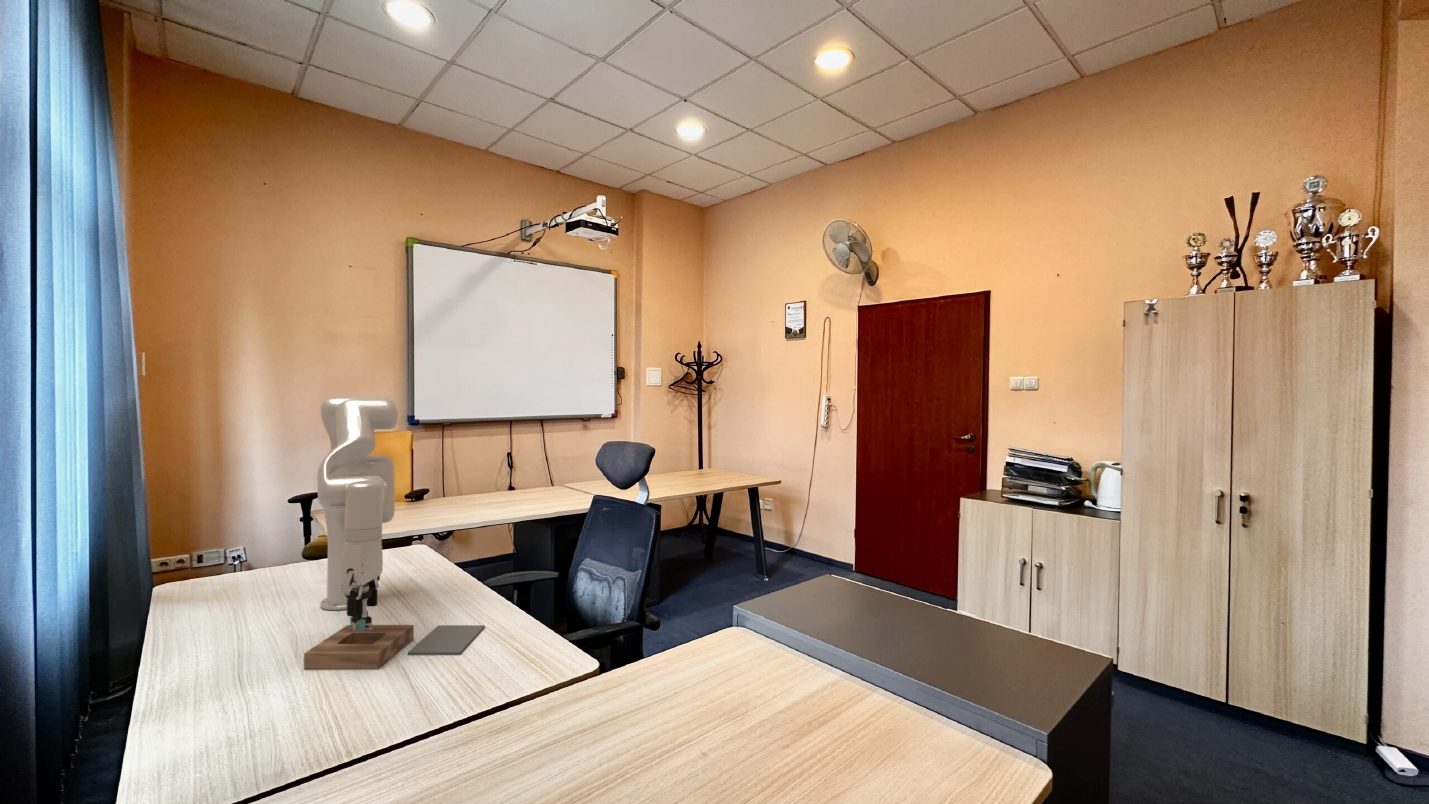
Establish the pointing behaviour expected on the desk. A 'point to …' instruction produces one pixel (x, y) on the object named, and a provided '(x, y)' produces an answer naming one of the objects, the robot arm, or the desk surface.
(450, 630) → the pad
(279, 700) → the desk surface
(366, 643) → the holder
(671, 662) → the desk surface
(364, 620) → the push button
